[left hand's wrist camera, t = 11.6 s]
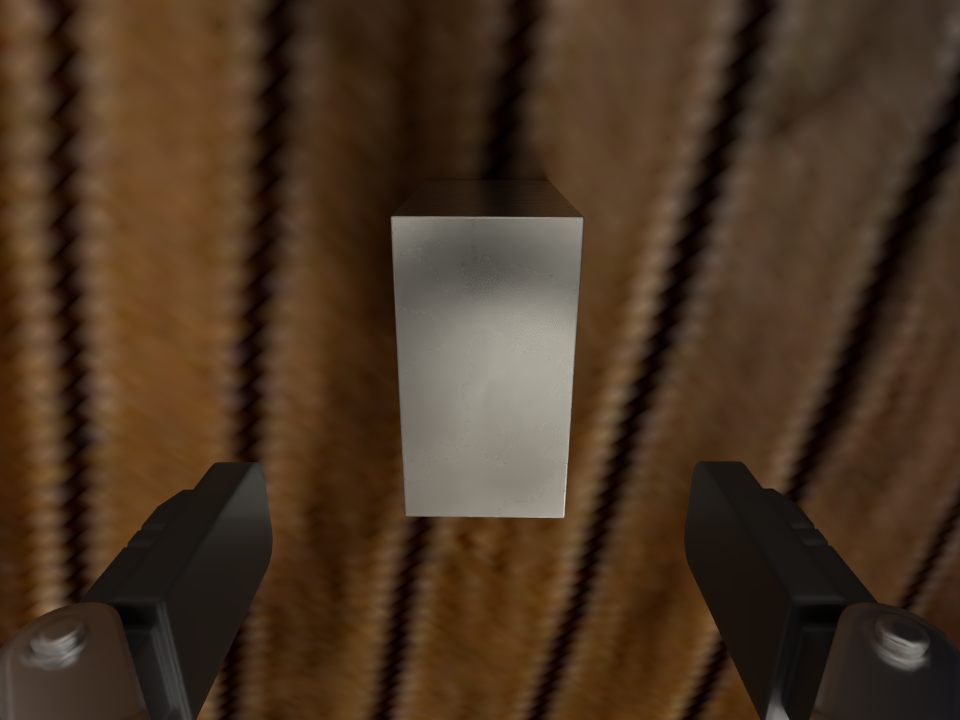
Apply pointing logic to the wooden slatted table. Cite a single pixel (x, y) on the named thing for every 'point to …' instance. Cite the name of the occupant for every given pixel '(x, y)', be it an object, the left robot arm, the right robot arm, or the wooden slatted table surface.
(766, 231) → the wooden slatted table surface
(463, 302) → the block
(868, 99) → the wooden slatted table surface
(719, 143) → the wooden slatted table surface
